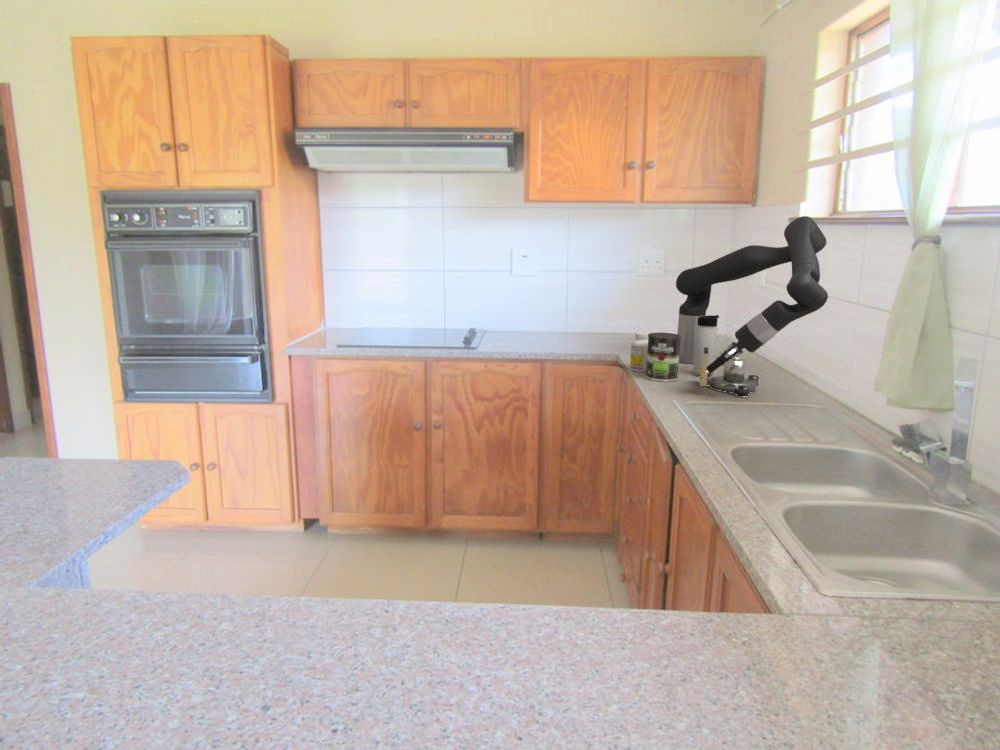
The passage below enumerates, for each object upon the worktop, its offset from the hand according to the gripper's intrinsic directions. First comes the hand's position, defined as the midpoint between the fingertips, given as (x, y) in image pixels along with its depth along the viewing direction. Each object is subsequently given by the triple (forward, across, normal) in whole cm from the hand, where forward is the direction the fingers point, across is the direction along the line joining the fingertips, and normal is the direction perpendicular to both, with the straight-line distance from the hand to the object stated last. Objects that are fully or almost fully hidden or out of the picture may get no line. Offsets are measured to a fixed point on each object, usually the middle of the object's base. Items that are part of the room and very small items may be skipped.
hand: (708, 370), depth 192 cm
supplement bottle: (+24, +20, +14) cm, 34 cm away
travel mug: (+10, +25, 0) cm, 27 cm away
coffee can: (+17, +13, +7) cm, 23 cm away
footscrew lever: (+5, +6, -1) cm, 8 cm away
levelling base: (+3, +12, -7) cm, 14 cm away
